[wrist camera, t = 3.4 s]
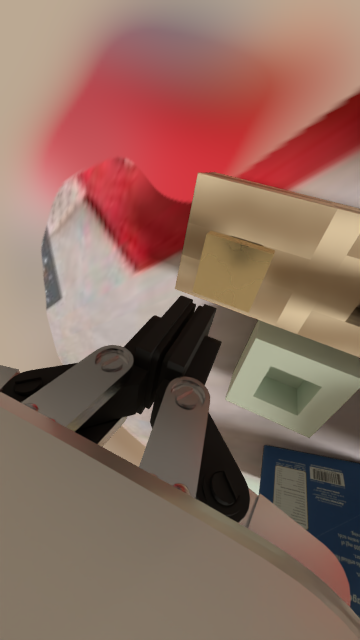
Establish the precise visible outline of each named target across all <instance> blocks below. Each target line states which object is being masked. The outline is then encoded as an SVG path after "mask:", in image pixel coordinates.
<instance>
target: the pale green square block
mask: <svg viewBox="0 0 360 640" xmlns="http://www.w3.org/2000/svg"><path fill="white" fill-rule="evenodd" d="M359 388H360V361H359V358H358V357H357V356H354V355H352V354H349V353H346V352H344V351H341V350H338V349H336V348H333V347H330V346H328V345H325V344H322V343H319V342H317V341H314V340H311V339H309V338H306V337H303V336H301V335H298V334H295V333H293V332H290V331H287V330H284V329H282V328H279V327H276V326H274V325H271V324H268V323H266V322H263V321H260V320H258V322H257V324H256V326H255V328H254V330H253V332H252V334H251V336H250V338H249V341H248V343H247V345H246V347H245V349H244V351H243V353H242V355H241V357H240V359H239V361H238V364H237V366H236V368H235V370H234V372H233V375H232V379H231V382H230V385H229V389H228V392H227V396H226V399H225V400H227V401H229V402H231V403H233V404H236V405H238V406H240V407H242V408H244V409H247V410H249V411H251V412H253V413H255V414H258V415H260V416H262V417H264V418H266V419H269V420H271V421H273V422H275V423H277V424H280V425H282V426H284V427H286V428H288V429H291V430H293V431H295V432H297V433H299V434H302V435H304V436H306V437H308V438H310V437H311V436H312V435H313V434H314V433H315V432H316V431H317V430H318V429H319V428H320V427H321V426H322V425H323V424H324V423H325V422H326V421H327V420H328V419H329V418H330V417H331V416H332V415H333V414H334V413H335V412H336V411H337V410H338V409H339V408H340V407H341V406H342V405H343V404H344V403H345V402H346V401H347V400H348V399H349V398H350V397H351V396H352V395H353V394H354V393H355V392H356V391H357V390H358V389H359Z"/></svg>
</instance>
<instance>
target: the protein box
mask: <svg viewBox="0 0 360 640" xmlns="http://www.w3.org/2000/svg"><path fill="white" fill-rule="evenodd" d="M259 494H262V495H263V496H264V497H265V498H267V499H268V500H269V501H270V502H272V503H273V504H274V505H275V506H277V507H278V508H279V509H280V510H282V511H283V512H284V513H285V514H287V515H288V516H289V517H290V518H292V519H293V520H294V521H295V522H297V523H298V524H299V525H300V526H302V527H303V528H304V529H305V530H306V531H308V532H309V533H310V534H311V535H313V536H314V537H315V538H316V539H318V540H319V541H320V542H321V543H323V544H324V545H325V546H326V547H327V548H328V549H329V550H330V551H331V552H332V553H333V554H334V555H335V556H336V558H337V559H338V561H339V563H340V564H341V566H342V567H343V569H344V572H345V574H346V577H347V580H348V583H349V588H350V597H351V601H350V608H351V609H352V610H353V611H354V613H355V614H356V615H357V616H358V617H359V618H360V463H355V462H349V461H344V460H339V459H334V458H329V457H324V456H319V455H314V454H308V453H303V452H298V451H293V450H288V449H283V448H278V447H272V446H267V445H265V446H264V450H263V460H262V470H261V480H260V489H259Z"/></svg>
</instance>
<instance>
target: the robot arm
mask: <svg viewBox="0 0 360 640" xmlns="http://www.w3.org/2000/svg"><path fill="white" fill-rule="evenodd" d="M195 307H196V304H194V303H193V300H192V299H190V298H187V297H184V296H180V297H179V298H178V299H177V300H176V302H175V303H174V304H173V305H172V306H171V307H170V308H169V310H168V311H167V312H166V313H165V314H164V315H163V316H162V317H158V316H153V317H152V318H151V319H150V320H149V321H148V322H147V323H146V324H145V325H144V326H143V327H142V328H141V329H140V330H139V331H138V333H137V334H136V335H135V336H134V337H133V338H132V339H131V340H130V341H129V342H128V343H127V344H126V345H125V346H124V347H121V346H116V345H108V346H104V347H101V348H99V349H98V350H96V351H95V352H93V353H92V354H90V355H89V356H87V357H86V358H84V359H83V360H82V361H80V362H79V363H74V364H68V365H62V366H56V367H49V368H43V369H36V370H30V371H26V372H23V373H20V372H19V370H18V369H14V368H10V367H6V366H1V365H0V640H360V618H359V617H358V616H357V615H356V614H355V613H354V611H353V610H352V609H351V608H350V601H351V597H350V588H349V583H348V580H347V577H346V574H345V572H344V569H343V567H342V566H341V564H340V563H339V561H338V559H337V558H336V556H335V555H334V554H333V553H332V552H331V551H330V550H329V549H328V548H327V547H326V546H325V545H324V544H323V543H321V542H320V541H319V540H318V539H316V538H315V537H314V536H313V535H311V534H310V533H309V532H308V531H306V530H305V529H304V528H303V527H302V526H300V525H299V524H298V523H297V522H295V521H294V520H293V519H292V518H290V517H289V516H288V515H287V514H285V513H284V512H283V511H282V510H280V509H279V508H278V507H277V506H275V505H274V504H273V503H272V502H270V501H269V500H268V499H267V498H265V497H264V496H263V495H262V494H259V495H257V494H255V493H254V492H253V491H252V490H250V489H249V488H248V486H247V483H246V481H245V479H244V477H243V475H242V473H241V471H240V469H239V467H238V466H237V464H236V462H235V460H234V458H233V456H232V454H231V453H230V451H229V449H228V447H227V445H226V443H225V442H224V440H223V438H222V436H221V434H220V432H219V430H218V429H217V427H216V425H215V423H214V421H213V419H212V418H211V416H210V414H209V412H208V411H209V405H210V395H209V392H208V389H207V388H206V387H205V383H206V381H207V378H208V376H209V373H210V371H211V368H212V365H213V363H214V360H215V358H216V355H217V353H218V350H219V348H220V345H221V341H218V340H216V339H213V338H211V337H208V333H209V330H210V327H211V324H212V321H213V318H214V315H215V312H216V308H214V307H211V306H208V305H206V304H204V306H203V307H202V306H198V308H197V309H196V311H195ZM194 311H195V312H194ZM153 402H154V405H153V410H152V415H151V420H150V423H151V426H152V431H151V434H150V437H149V440H148V443H147V446H146V449H145V451H144V454H143V458H142V460H141V463H140V466H139V467H137V466H136V465H133V464H132V463H130V462H128V461H127V460H125V459H123V458H121V457H119V456H117V455H116V454H114V453H112V452H110V451H108V450H107V449H105V448H103V445H104V444H105V443H106V442H107V441H108V440H109V439H110V438H111V436H112V435H113V434H114V433H115V432H116V431H117V430H118V429H119V428H120V426H121V425H122V424H123V423H124V422H125V420H126V419H127V416H130V415H134V414H135V413H136V412H137V413H139V414H142V412H143V410H144V409H145V408H148V409H150V407H151V406H152V404H153Z"/></svg>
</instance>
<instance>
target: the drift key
mask: <svg viewBox="0 0 360 640" xmlns="http://www.w3.org/2000/svg"><path fill="white" fill-rule="evenodd" d="M274 253H275V250H273V249H270V248H267V247H264V246H260V245H257V244H254V243H250V242H247V241H244V240H241V239H237V238H234V237H231V236H228V235H224V234H221V233H218V232H214V231H210V232H208V233H207V235H206V239H205V243H204V247H203V251H202V255H201V259H200V263H199V267H198V271H197V275H196V279H195V283H194V287H193V291H192V292H194V293H196V294H199V295H202V296H205V297H207V298H210V299H213V300H215V301H218V302H221V303H224V304H226V305H229V306H232V307H234V308H237V309H240V310H243V311H245V312H248V313H249V311H250V309H251V306H252V304H253V302H254V299H255V297H256V295H257V293H258V290H259V288H260V286H261V283H262V281H263V279H264V277H265V274H266V272H267V270H268V267H269V265H270V263H271V261H272V258H273V256H274Z"/></svg>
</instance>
